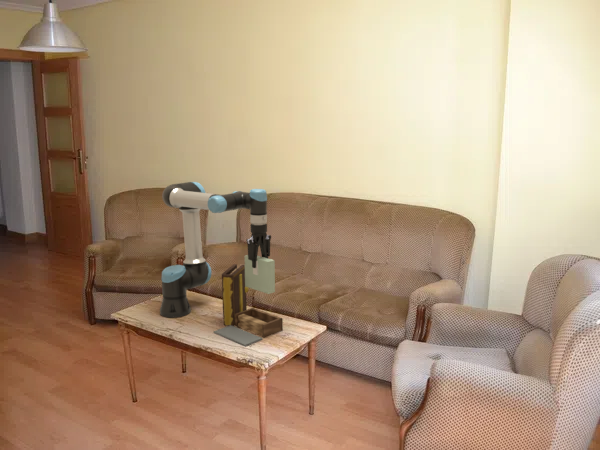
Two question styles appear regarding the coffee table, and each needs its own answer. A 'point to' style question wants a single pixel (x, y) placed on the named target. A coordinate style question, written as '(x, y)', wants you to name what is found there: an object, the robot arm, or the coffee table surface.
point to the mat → (238, 335)
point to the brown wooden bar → (251, 324)
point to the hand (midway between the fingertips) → (259, 273)
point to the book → (233, 293)
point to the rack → (270, 327)
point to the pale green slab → (260, 275)
